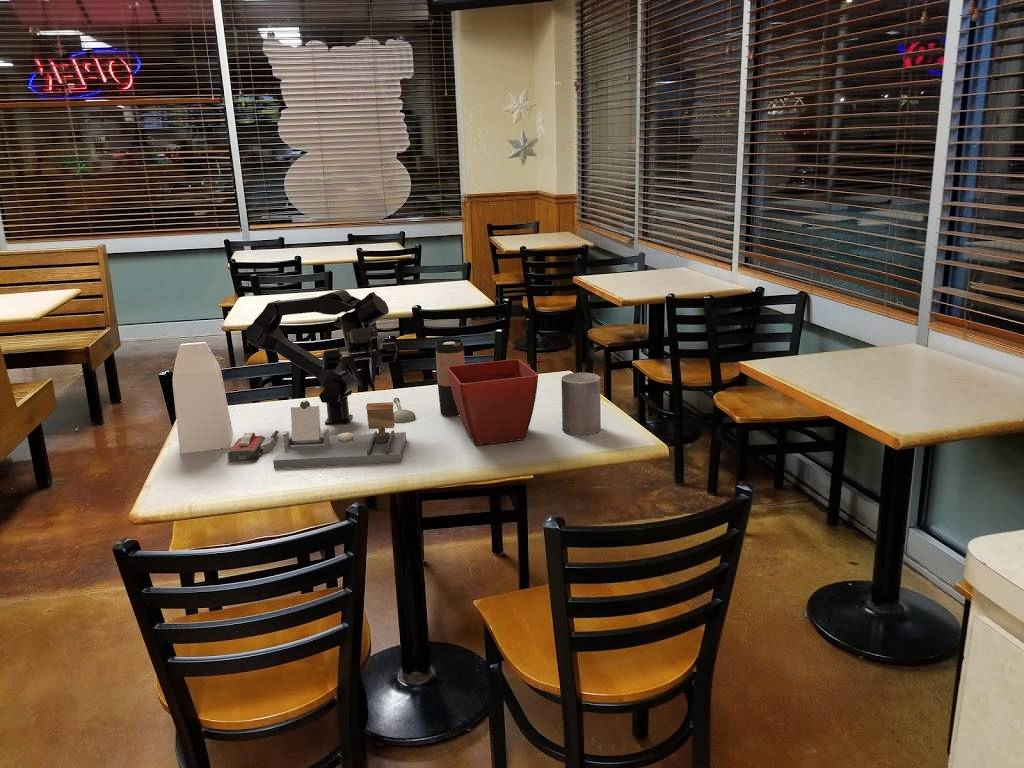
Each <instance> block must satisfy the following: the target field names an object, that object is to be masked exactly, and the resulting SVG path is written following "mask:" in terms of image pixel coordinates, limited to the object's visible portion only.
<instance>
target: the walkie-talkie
mask: <svg viewBox="0 0 1024 768" xmlns="http://www.w3.org/2000/svg"><path fill="white" fill-rule="evenodd" d="M279 431H280V430H275V431H274V432H273V433H272V435H271V436H270V437H268V438H266V436H263V435H256V433H255V432H245V433H244V434H243V436H241V437H239V438H238V439H237V440H236V442H235V443H234V444H233V445H231V448H229V450H228V451H227V458H228V462H229V463H241V462H242V463H243V462H254V461H256V460H257V459H258V457H259V456H260V455H261V454H265V453H267V451H268V452H270V451H271V450H272V449H273V447H275V446H276V445H275V444H276V443H275V439H276V438H277V436H278V434H279V433H280V432H279ZM269 450H270V451H269ZM264 452H265V453H264ZM259 454H260V455H259Z"/></svg>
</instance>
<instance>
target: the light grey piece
mask: <svg viewBox="0 0 1024 768" xmlns="http://www.w3.org/2000/svg"><path fill="white" fill-rule="evenodd" d="M320 414H321V413H320V405H314V406H313V405H312V406H311V404H310V401H308V400H302V401H301V402H300V403H299V406H294V407H293V406H291V407H290V416H291V417H290V418H291V421H290V422H291V436H292V437H291V438H292V439H289V444H290V445H310V444H324V437H321V436H322V434H321V417H320V416H321V415H320Z"/></svg>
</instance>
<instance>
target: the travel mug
mask: <svg viewBox="0 0 1024 768" xmlns="http://www.w3.org/2000/svg"><path fill="white" fill-rule="evenodd" d="M434 345H435V346H434V347H435V359H436V360H435V361H436V379H437V390H438V400H439V408H440V409H439V410H440V411H439V412H440V415H441V416H442V417H451V416H455V417H460V416H459V413H458V410H457V406H456V403H455V400H454V396H453V393H452V389H451V385H450V381H449V376H448V371H447V367H449V366H457V365H465V364H466V363H465V351H464V341H463V339H460V338H444V339H439V340H436V341H435V344H434ZM451 418H452V417H451Z"/></svg>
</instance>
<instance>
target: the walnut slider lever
mask: <svg viewBox="0 0 1024 768" xmlns="http://www.w3.org/2000/svg"><path fill="white" fill-rule="evenodd" d="M365 410H366V416H367V427H368V430H378V432H377V435H376V443H382V442H388V440H389V433H390V432H387V431H386V429H394V428H395V423H394V401H393V402H391V401H389V402H372V403H371V402H369V403H366V405H365Z"/></svg>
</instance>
